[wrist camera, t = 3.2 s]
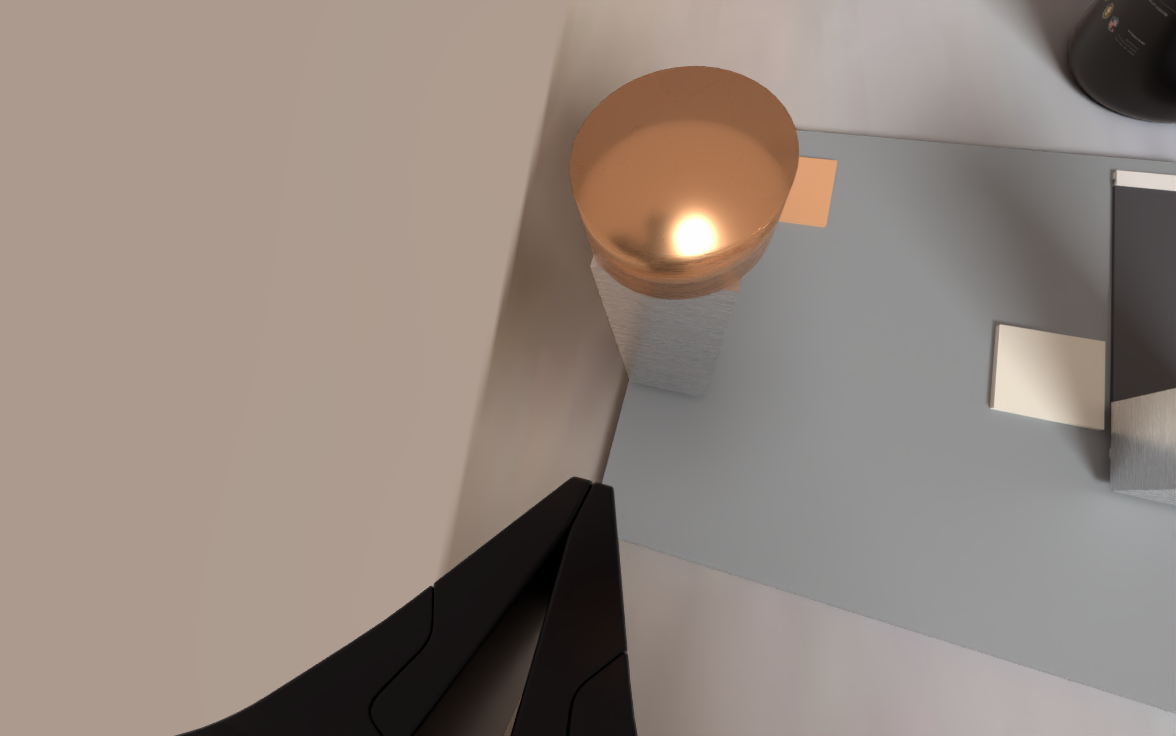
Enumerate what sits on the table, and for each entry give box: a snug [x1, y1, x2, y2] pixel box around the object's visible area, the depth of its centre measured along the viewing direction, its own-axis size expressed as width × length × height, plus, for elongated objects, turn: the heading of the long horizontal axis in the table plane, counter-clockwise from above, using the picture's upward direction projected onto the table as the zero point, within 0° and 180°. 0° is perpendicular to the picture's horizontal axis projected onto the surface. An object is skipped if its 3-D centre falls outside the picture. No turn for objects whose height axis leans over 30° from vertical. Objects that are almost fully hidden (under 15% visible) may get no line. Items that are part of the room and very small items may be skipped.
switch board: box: [602, 130, 1176, 713], centre depth 16 cm, size 18×18×1 cm
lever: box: [570, 66, 799, 398], centre depth 12 cm, size 4×4×11 cm
